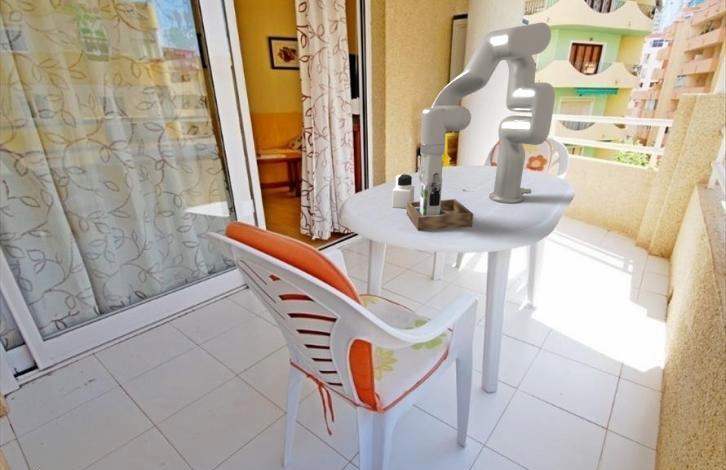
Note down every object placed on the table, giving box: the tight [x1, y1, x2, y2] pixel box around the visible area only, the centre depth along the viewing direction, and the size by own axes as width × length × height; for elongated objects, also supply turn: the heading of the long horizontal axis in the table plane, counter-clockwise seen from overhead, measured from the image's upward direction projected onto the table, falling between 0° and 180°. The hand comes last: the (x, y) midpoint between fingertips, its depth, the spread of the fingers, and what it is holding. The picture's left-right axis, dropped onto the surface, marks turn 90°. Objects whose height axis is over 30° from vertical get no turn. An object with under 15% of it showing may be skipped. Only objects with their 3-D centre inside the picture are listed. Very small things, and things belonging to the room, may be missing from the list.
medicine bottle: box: [391, 173, 415, 209], centre depth 130 cm, size 7×7×12 cm
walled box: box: [406, 198, 474, 232], centre depth 116 cm, size 18×16×4 cm
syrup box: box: [419, 180, 443, 216], centre depth 113 cm, size 6×6×14 cm
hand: (429, 200), depth 113 cm, fingers open, 9 cm apart
